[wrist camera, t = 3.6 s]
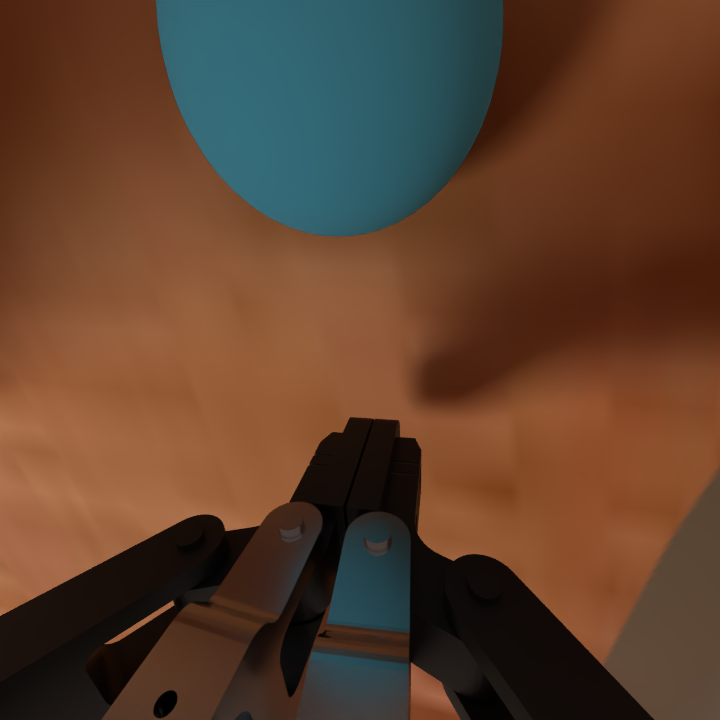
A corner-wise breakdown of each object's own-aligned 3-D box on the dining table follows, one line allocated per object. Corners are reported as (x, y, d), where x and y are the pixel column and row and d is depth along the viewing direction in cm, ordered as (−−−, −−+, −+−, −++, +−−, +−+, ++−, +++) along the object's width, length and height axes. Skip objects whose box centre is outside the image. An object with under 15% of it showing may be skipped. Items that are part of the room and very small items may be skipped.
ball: (276, 231, 11) (129, 257, 6) (242, -21, 9) (-52, -357, 4) (472, 223, 10) (512, 247, 5) (494, -71, 8) (620, -698, 2)
